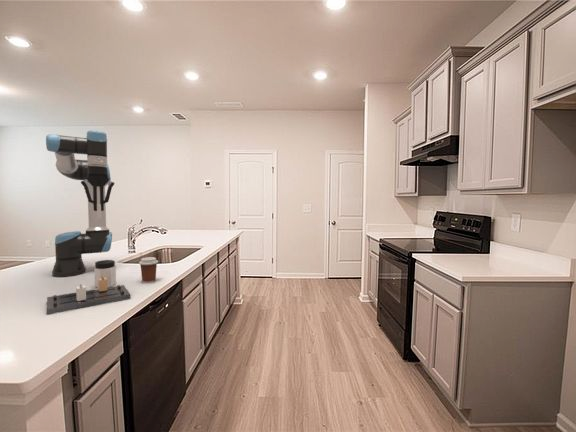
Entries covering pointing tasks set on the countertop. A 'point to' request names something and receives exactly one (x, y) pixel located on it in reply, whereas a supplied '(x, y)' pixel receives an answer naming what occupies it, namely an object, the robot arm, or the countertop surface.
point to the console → (92, 299)
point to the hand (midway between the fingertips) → (98, 218)
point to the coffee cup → (148, 269)
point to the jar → (105, 272)
